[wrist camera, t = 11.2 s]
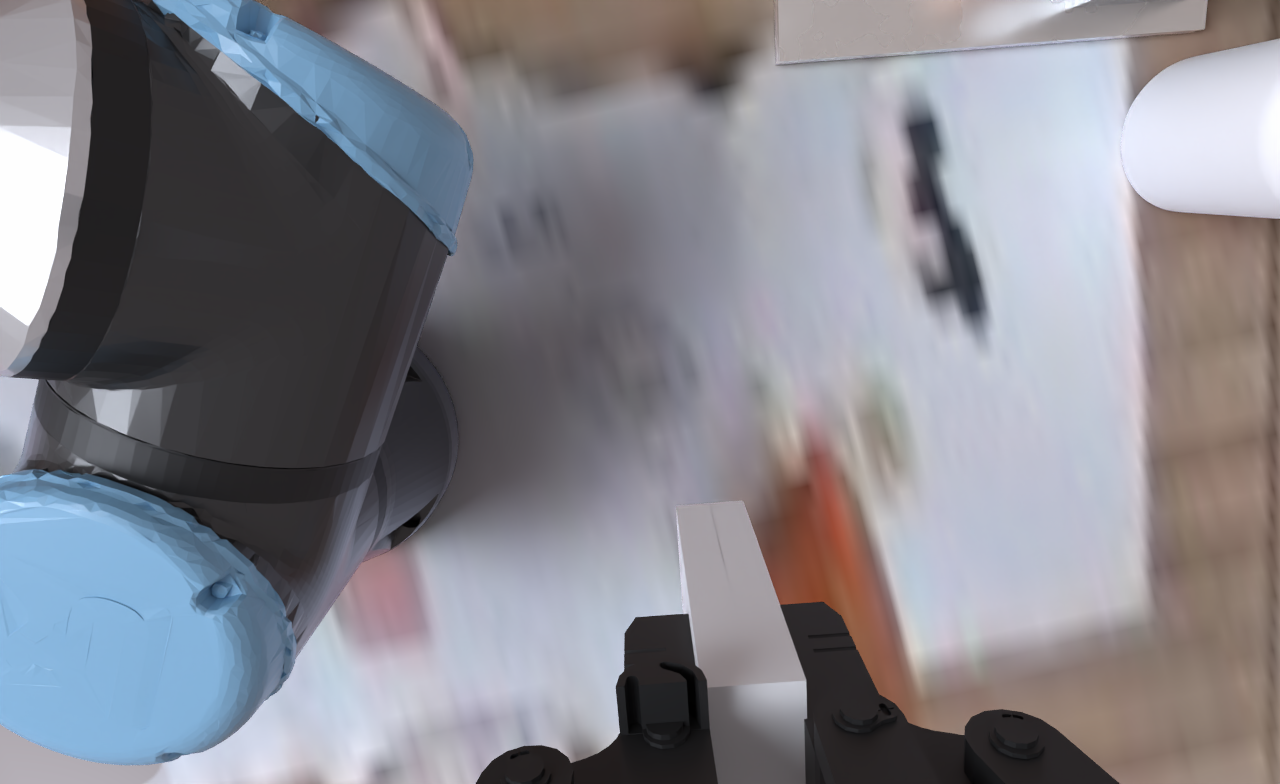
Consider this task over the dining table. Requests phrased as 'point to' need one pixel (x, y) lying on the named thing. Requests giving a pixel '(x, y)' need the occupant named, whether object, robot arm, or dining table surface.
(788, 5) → the grey blocky piece
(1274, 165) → the beverage can
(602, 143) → the dining table surface
